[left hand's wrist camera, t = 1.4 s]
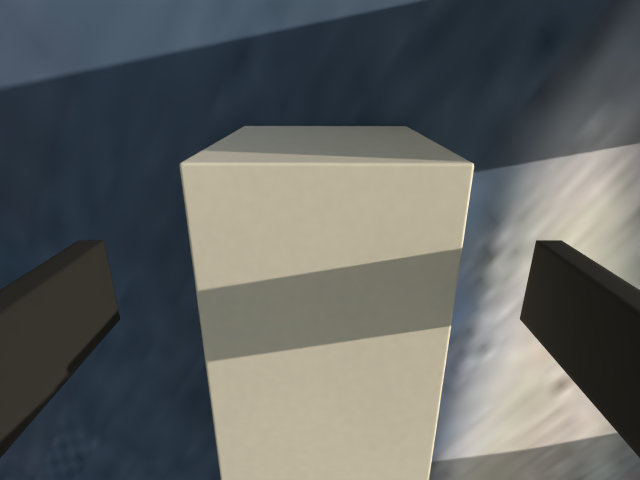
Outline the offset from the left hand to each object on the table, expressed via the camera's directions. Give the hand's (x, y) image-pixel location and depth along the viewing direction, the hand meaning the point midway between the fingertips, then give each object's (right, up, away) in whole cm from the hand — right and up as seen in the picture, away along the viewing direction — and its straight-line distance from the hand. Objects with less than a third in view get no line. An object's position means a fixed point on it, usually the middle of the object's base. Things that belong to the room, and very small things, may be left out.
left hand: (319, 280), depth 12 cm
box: (0, -5, +13) cm, 14 cm away
